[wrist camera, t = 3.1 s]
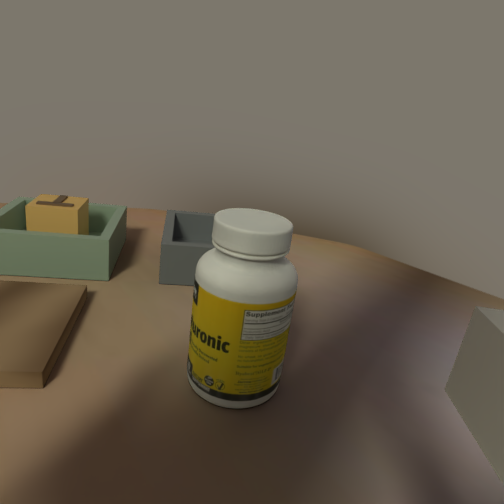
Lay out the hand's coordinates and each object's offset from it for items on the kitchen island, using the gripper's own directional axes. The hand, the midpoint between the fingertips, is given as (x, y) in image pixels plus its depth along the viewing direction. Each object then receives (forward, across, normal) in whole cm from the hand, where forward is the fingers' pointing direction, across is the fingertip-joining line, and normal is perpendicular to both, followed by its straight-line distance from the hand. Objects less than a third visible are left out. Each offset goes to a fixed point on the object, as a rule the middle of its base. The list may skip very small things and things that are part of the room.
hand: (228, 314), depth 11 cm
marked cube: (+24, -16, -9) cm, 31 cm away
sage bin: (+24, -16, -10) cm, 31 cm away
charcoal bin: (+27, -2, -10) cm, 29 cm away
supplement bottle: (+10, +1, -10) cm, 14 cm away
